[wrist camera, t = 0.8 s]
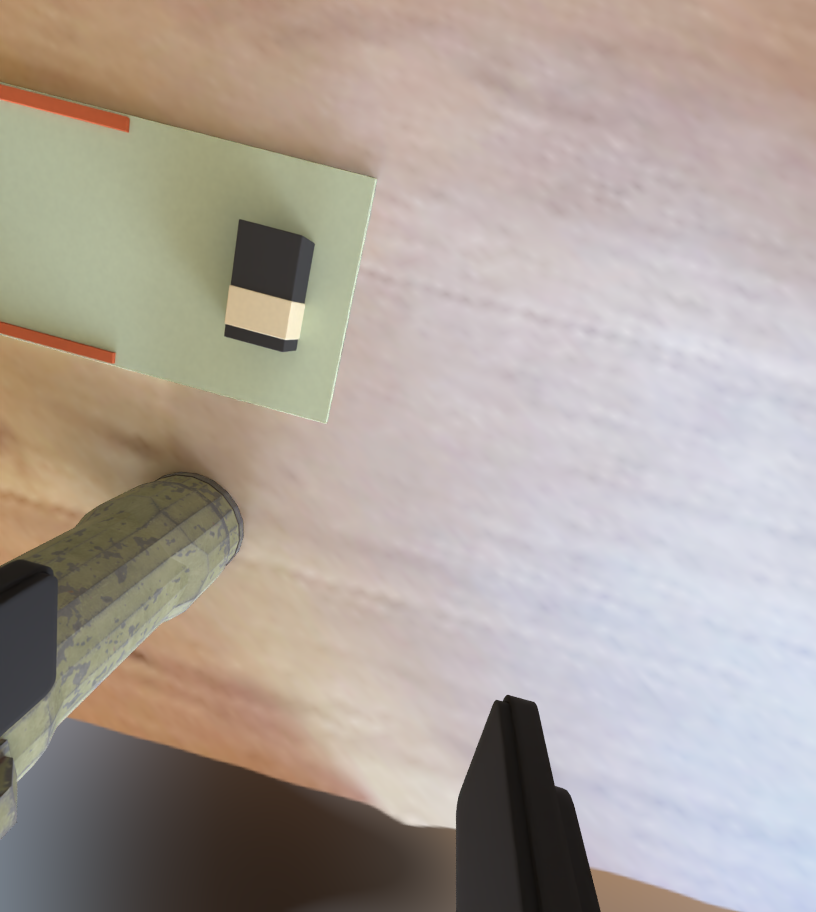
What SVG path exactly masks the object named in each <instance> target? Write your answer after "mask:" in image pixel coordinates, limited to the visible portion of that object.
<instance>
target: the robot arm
mask: <svg viewBox="0 0 816 912" xmlns="http://www.w3.org/2000/svg"><path fill="white" fill-rule="evenodd" d="M57 606H58V580H57V578H56V577H55V576H54V573H53V570H52V569H51V567H48V566H45V565H42V564H38V563H35V562H31V561H27V560H24V559H18V560H15V561H12V562H10V563H8V564H6V565H4V566H2V567H0V737H1V736H2V735H3V734H4V733H5V732H6V731H7V730H8V729H10V728H11V727H12V726H13V725H14V724H15V723H16V722H17V721H19V720H20V719H21V718H22V717H23V716H24V715H25V714H26V713H27V712H29V711H30V710H31V709H32V708H33V707H34V706H35V705H36V704H38V703H39V702H40V701H41V700H42V699H43V698H44V697H45V696H46V695H47V694H48V693H49V692H50V690H51V689H52V687H53V685H54V683H55V680H56V663H57ZM456 912H600V907H599V903H598V899H597V895H596V891H595V887H594V883H593V879H592V875H591V871H590V867H589V863H588V859H587V855H586V851H585V847H584V843H583V839H582V835H581V831H580V827H579V823H578V819H577V815H576V811H575V807H574V804H573V801H572V798H571V796H570V794H569V793H568V791H567V790H565V789H563V788H560V787H556V786H555V785H554V780H553V776H552V771H551V767H550V762H549V757H548V753H547V748H546V744H545V739H544V735H543V730H542V726H541V721H540V716H539V712H538V708H537V705H536V704H535V702H532V701H528V700H524V699H521V698H517V697H514V696H510V695H506V696H505V698H504V700H503V702H502V701H499V700H495V702H494V704H493V706H492V709H491V711H490V714H489V716H488V719H487V722H486V724H485V727H484V730H483V732H482V735H481V738H480V740H479V743H478V746H477V748H476V751H475V754H474V756H473V759H472V762H471V764H470V767H469V769H468V772H467V775H466V777H465V780H464V783H463V785H462V788H461V791H460V794H459V797H458V802H457V810H456Z"/></svg>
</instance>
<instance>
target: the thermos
mask: <svg viewBox="0 0 816 912" xmlns="http://www.w3.org/2000/svg"><path fill="white" fill-rule="evenodd" d="M242 540H243V520H242V517H241V515H240V512H239V509H238V506H237V505H236V503H235V502H234V500H233V499H232V498H231V496H230V495H229V494H228V492H227V491H226V490H224V489H223V488H222V487H221V486H219V485H218V484H217V483H216V482H214V481H213V480H211V479H208V478H206V477H203V476H201V475H199V474H194V473H185V472H178V473H174V474H169V475H165V476H163V477H161V478H159V479H158V480H156V481H155V482H151V483H146V484H142V485H140V486H138V487H136V488H133V489H131V490H129V491H127V492H125V493H123V494H121V495H119V496H117V497H115V498H113V499H111V500H109V501H107V502H105V503H103V504H101V505H99V506H98V507H96V508H95V509H93V510H92V511H90V512H89V513H87V514H86V515H85V516H84V517H83V518H82V519H81V521H80V522H79V523H78V524H77V525H76V527H75V528H73V529H71V530H69V531H67V532H65V533H63V534H61V535H59V536H57V537H55V538H54V539H52V540H50V541H48V542H46V543H44V544H42V545H40V546H38V547H36V548H34V549H32V550H30V551H28V552H26V553H24V554H22V555H21V556H19V557H17V558H15V559H13V560H11V561H9V562H7V563H5V564H3V565H1V566H0V567H2V566H4V565H6V564H8V563H10V562H12V561H15V560H18V559H24V560H27V561H31V562H35V563H38V564H42V565H45V566H48V567H51V569H52V570H53V573H54V576H55V577H56V578H57V580H58V606H57V663H56V680H55V683H54V685H53V687H52V689H51V690H50V692H49V693H48V694H47V695H46V696H45V697H44V698H43V699H42V700H41V701H40V702H39V703H38V704H36V705H35V706H34V707H33V708H32V709H31V710H30V711H29V712H27V713H26V714H25V715H24V716H23V717H22V718H21V719H20V720H19V721H17V722H16V723H15V724H14V725H13V726H12V727H11V728H10V729H8V730H7V731H6V732H5V733H4V734H3V735H2V736H1V737H0V840H1V839H2V838H3V837H4V835H5V834H6V833H7V832H8V831H9V830H10V829H11V828H12V827H13V825H15V823H16V822H17V782H18V781H19V780H20V779H21V778H22V777H23V776H24V774H25V773H26V772H27V771H28V770H29V769H30V768H31V767H32V766H33V765H34V764H35V762H36V761H37V760H38V759H39V758H40V756H41V755H42V753H43V752H44V751H45V750H46V749H47V747H48V745H49V742H50V740H51V738H52V736H53V734H54V732H55V729H56V727H57V726H58V725H59V724H60V723H61V722H62V721H63V720H64V719H65V718H66V717H67V716H68V715H69V714H70V713H71V712H72V711H73V710H74V709H75V708H76V707H77V706H78V705H79V704H80V703H81V702H82V701H83V700H84V699H85V698H86V697H87V696H88V695H89V694H90V693H91V692H92V691H93V690H94V689H95V688H96V687H97V686H98V685H99V684H100V683H101V682H102V681H103V680H104V679H106V678H107V677H108V676H109V675H110V674H111V673H112V672H113V671H114V670H115V669H116V668H117V667H118V666H119V665H120V664H121V663H122V662H123V661H124V660H125V659H126V658H127V657H128V656H129V655H130V654H131V653H132V652H133V651H134V650H135V649H136V648H137V647H138V646H139V645H140V644H141V643H142V642H143V641H144V640H145V639H146V638H147V637H148V636H149V635H150V634H151V633H152V632H153V631H154V630H155V629H156V628H157V627H158V626H159V625H160V624H161V623H163V622H165V621H168V620H170V619H172V618H174V617H176V616H177V615H179V614H181V613H183V612H185V611H186V610H187V609H188V608H189V607H190V606H191V604H192V603H193V602H194V601H195V600H196V599H197V598H198V597H199V596H200V595H201V594H202V593H203V592H204V591H205V590H206V589H207V588H208V587H209V586H210V585H211V584H212V583H213V582H214V581H215V580H216V578H217V577H218V576H219V575H220V573H221V572H222V571H223V570H224V569H225V566H226V565H227V564H228V563H229V562H230V561H231V560H232V559H233V558H234V556H235V555H236V554H237V553H238V551H239V549H240V546H241V543H242Z"/></svg>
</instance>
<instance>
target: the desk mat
mask: <svg viewBox="0 0 816 912" xmlns="http://www.w3.org/2000/svg"><path fill="white" fill-rule="evenodd" d="M376 183H377V180H376V178H373V177H369V176H365V175H361V174H357V173H353V172H349V171H346V170H342V169H338V168H334V167H330V166H326V165H322V164H318V163H314V162H310V161H307V160H303V159H299V158H295V157H291V156H287V155H283V154H279V153H275V152H272V151H268V150H264V149H260V148H256V147H252V146H248V145H244V144H240V143H237V142H233V141H229V140H225V139H221V138H217V137H213V136H209V135H205V134H201V133H198V132H194V131H190V130H186V129H182V128H178V127H174V126H170V125H166V124H163V123H159V122H155V121H151V120H147V119H143V118H139V117H135V116H131V115H127V114H124V113H120V112H116V111H112V110H108V109H104V108H100V107H96V106H92V105H89V104H85V103H81V102H77V101H73V100H69V99H65V98H61V97H57V96H54V95H50V94H46V93H42V92H38V91H34V90H30V89H26V88H22V87H18V86H15V85H11V84H7V83H3V82H0V335H3V336H7V337H10V338H14V339H18V340H21V341H25V342H29V343H32V344H36V345H40V346H43V347H47V348H51V349H54V350H58V351H62V352H65V353H69V354H72V355H76V356H80V357H83V358H87V359H91V360H94V361H98V362H102V363H105V364H109V365H113V366H116V367H120V368H124V369H127V370H131V371H135V372H138V373H142V374H146V375H149V376H153V377H157V378H160V379H164V380H168V381H171V382H175V383H179V384H182V385H186V386H189V387H193V388H197V389H200V390H204V391H208V392H211V393H215V394H219V395H222V396H226V397H230V398H233V399H237V400H241V401H244V402H248V403H252V404H255V405H259V406H263V407H266V408H270V409H274V410H277V411H281V412H285V413H288V414H292V415H296V416H299V417H303V418H306V419H310V420H314V421H317V422H321V423H325V424H326V423H327V421H328V416H329V412H330V407H331V402H332V397H333V392H334V387H335V382H336V377H337V373H338V368H339V363H340V358H341V353H342V348H343V343H344V338H345V334H346V329H347V324H348V319H349V314H350V309H351V304H352V299H353V295H354V290H355V285H356V280H357V275H358V270H359V265H360V260H361V256H362V251H363V246H364V241H365V236H366V231H367V226H368V222H369V217H370V212H371V207H372V202H373V197H374V192H375V187H376ZM239 219H242V220H246V221H249V222H253V223H257V224H261V225H265V226H269V227H272V228H276V229H280V230H284V231H288V232H291V233H295V234H299V235H302V236H304V237H306V238H307V239H309V240H310V241H312V242H314V243H315V247H314V252H313V258H312V264H311V269H310V275H309V281H308V286H307V292H306V298H305V309H304V315H303V321H302V326H301V332H300V338H299V339H298V343H297V349H296V351H288V352H280V351H276V350H272V349H269V348H265V347H261V346H257V345H254V344H250V343H246V342H243V341H239V340H235V339H232V338H228V337H225V336H224V332H225V323H224V322H225V315H226V307H227V299H228V291H229V285H231V278H232V270H233V262H234V254H235V247H236V239H237V231H238V223H239Z"/></svg>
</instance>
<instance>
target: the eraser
mask: <svg viewBox="0 0 816 912" xmlns="http://www.w3.org/2000/svg"><path fill="white" fill-rule="evenodd" d="M314 247H315V243H314V242H312V241H310V240H309V239H307V238H306V237H304V236H302V235H299V234H295V233H291V232H288V231H284V230H280V229H276V228H272V227H269V226H265V225H261V224H257V223H253V222H249V221H246V220H242V219H239V223H238V231H237V239H236V247H235V254H234V262H233V270H232V278H231V285H229V291H228V299H227V307H226V315H225V322H224V323H225V332H224V336H225V337H228V338H232V339H235V340H239V341H243V342H246V343H250V344H254V345H257V346H261V347H265V348H269V349H272V350H276V351H280V352H288V351H296V349H297V343H298V339H299V338H300V332H301V326H302V321H303V315H304V309H305V298H306V292H307V286H308V281H309V275H310V269H311V264H312V258H313V252H314Z"/></svg>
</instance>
